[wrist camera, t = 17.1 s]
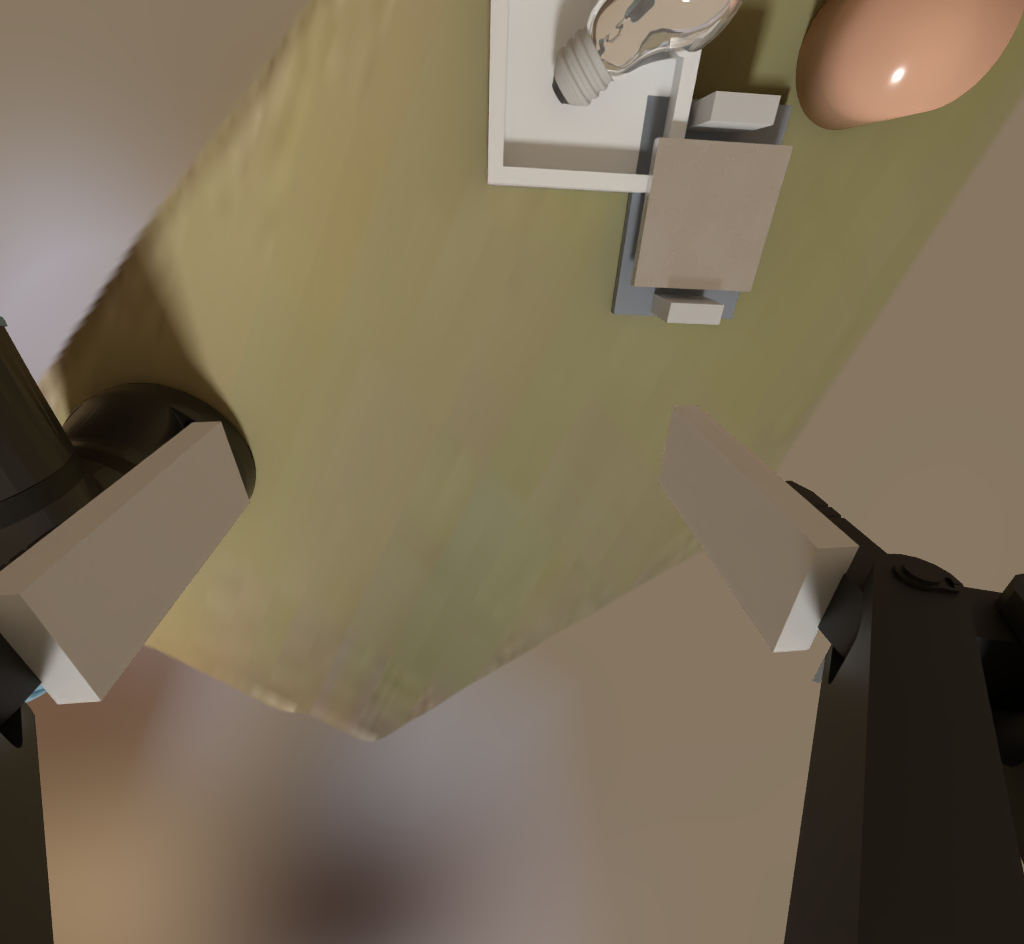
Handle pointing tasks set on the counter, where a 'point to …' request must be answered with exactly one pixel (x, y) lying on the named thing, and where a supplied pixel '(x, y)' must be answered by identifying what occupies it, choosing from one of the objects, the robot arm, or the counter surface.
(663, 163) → the plate
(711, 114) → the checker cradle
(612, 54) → the light bulb
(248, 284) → the counter surface
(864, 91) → the peach rounded pebble
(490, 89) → the tray
